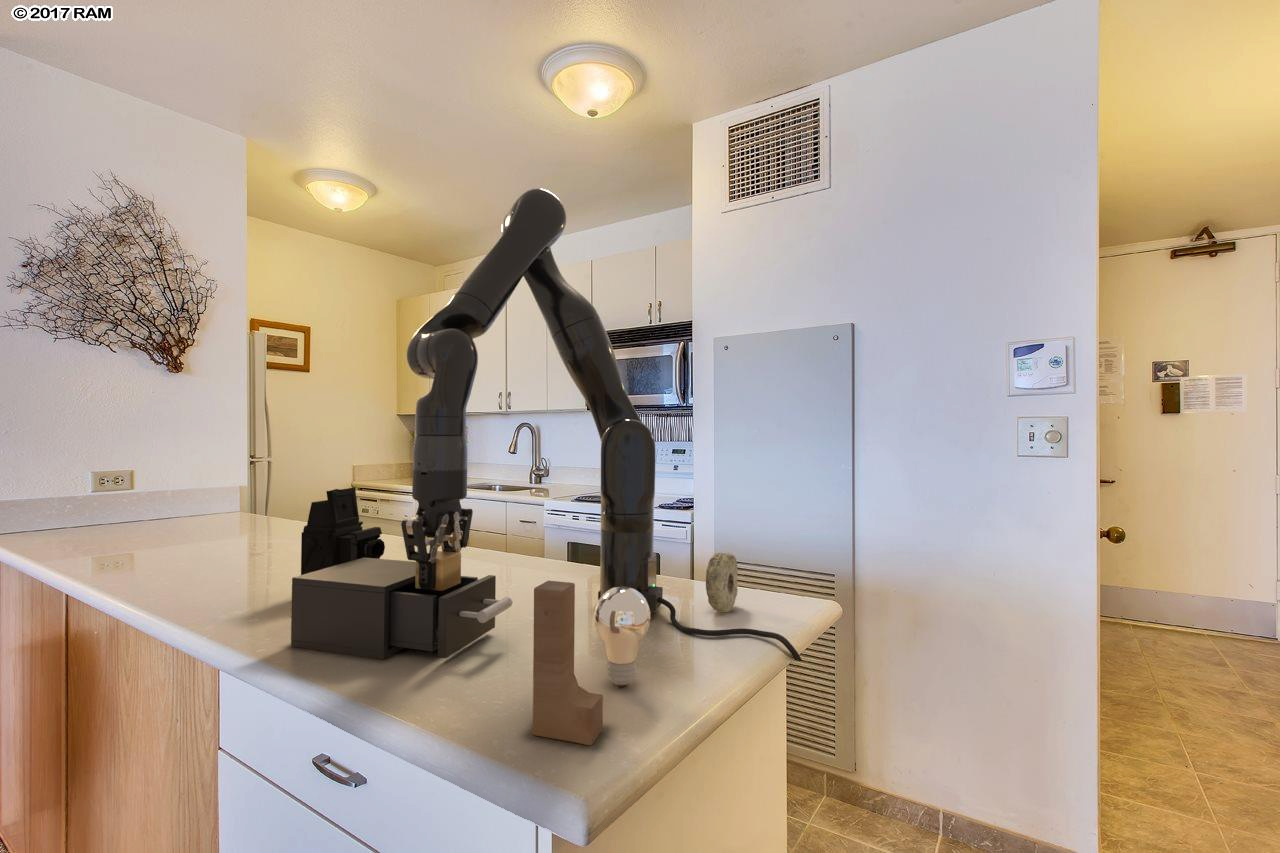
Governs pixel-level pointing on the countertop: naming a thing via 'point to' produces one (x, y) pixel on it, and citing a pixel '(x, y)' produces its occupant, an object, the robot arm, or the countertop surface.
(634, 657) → the light bulb
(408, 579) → the dark drawer cabinet
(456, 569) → the cube
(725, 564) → the stone ring
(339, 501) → the camera
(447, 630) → the pull-out drawer
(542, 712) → the wooden block
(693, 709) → the countertop surface
